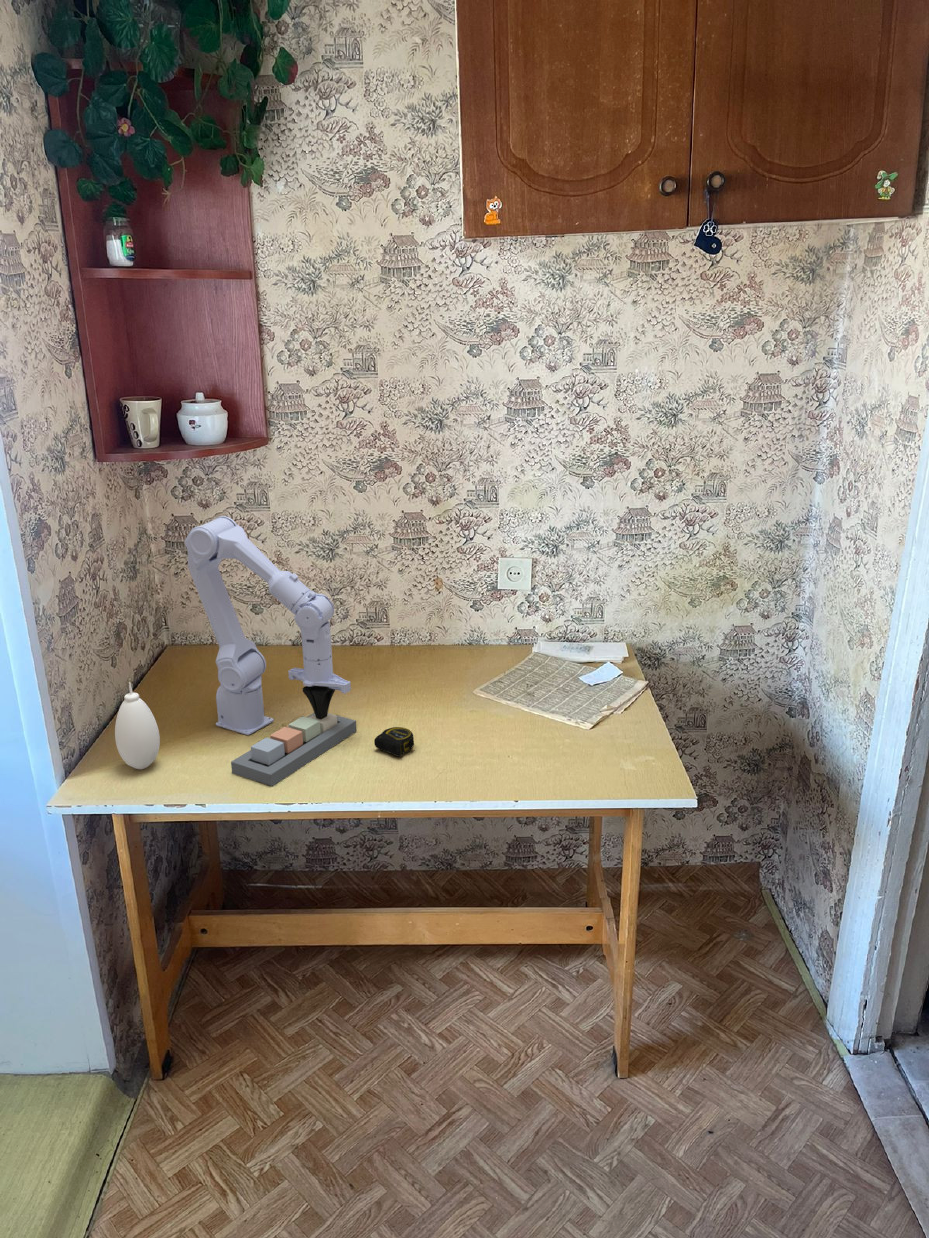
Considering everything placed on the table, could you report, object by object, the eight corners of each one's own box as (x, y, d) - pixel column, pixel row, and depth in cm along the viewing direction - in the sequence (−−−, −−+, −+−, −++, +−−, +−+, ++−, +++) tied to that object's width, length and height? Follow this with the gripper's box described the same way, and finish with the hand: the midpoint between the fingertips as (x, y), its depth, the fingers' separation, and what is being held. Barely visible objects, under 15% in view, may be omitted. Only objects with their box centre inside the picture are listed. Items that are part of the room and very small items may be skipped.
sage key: (289, 737, 189) (288, 724, 188) (303, 728, 192) (302, 716, 191) (306, 742, 187) (305, 729, 186) (320, 733, 190) (319, 720, 189)
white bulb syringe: (147, 753, 188) (136, 670, 182) (170, 765, 183) (159, 680, 177) (112, 768, 182) (99, 683, 176) (135, 781, 178) (122, 694, 172)
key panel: (232, 773, 180) (230, 761, 179) (319, 720, 201) (318, 710, 200) (271, 786, 175) (270, 774, 174) (356, 731, 196) (356, 720, 195)
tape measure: (372, 751, 188) (372, 734, 187) (396, 739, 193) (396, 722, 192) (397, 761, 184) (397, 744, 183) (421, 748, 189) (420, 732, 188)
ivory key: (307, 731, 194) (306, 718, 193) (320, 722, 197) (320, 710, 196) (324, 736, 191) (323, 723, 190) (337, 727, 195) (336, 715, 194)
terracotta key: (271, 748, 185) (269, 735, 184) (286, 739, 188) (285, 726, 187) (288, 753, 182) (287, 740, 181) (303, 744, 186) (302, 731, 185)
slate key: (251, 759, 180) (250, 746, 179) (267, 750, 184) (266, 737, 183) (269, 765, 178) (268, 752, 177) (284, 755, 182) (283, 742, 181)
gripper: (276, 655, 189) (281, 716, 194) (333, 669, 182) (337, 733, 187) (299, 644, 195) (304, 704, 199) (355, 657, 188) (359, 719, 192)
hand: (321, 717), depth 193 cm, fingers closed, pressing on ivory key
